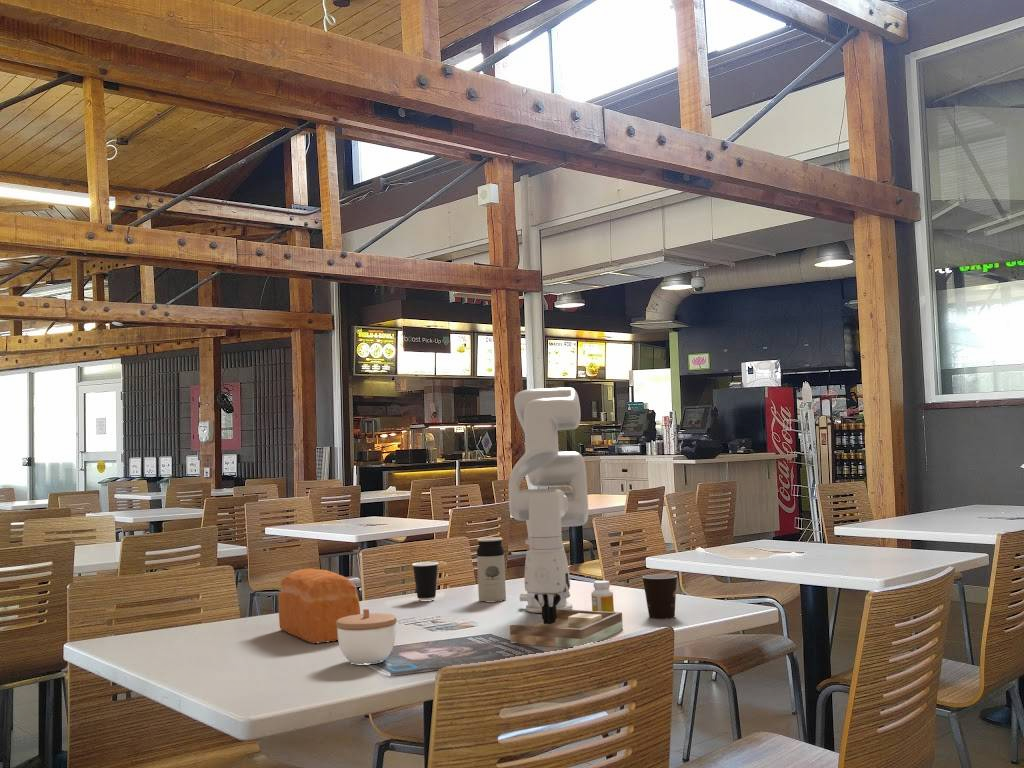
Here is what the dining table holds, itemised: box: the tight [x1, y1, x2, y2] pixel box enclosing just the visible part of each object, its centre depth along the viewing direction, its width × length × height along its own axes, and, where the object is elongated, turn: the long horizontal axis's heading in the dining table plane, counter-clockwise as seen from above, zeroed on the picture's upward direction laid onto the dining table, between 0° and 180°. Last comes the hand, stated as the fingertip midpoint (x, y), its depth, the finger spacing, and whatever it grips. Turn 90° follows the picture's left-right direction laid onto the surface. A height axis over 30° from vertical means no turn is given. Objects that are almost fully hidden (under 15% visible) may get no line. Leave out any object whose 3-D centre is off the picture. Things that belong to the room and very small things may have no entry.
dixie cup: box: [411, 561, 439, 601], centre depth 278 cm, size 8×8×11 cm
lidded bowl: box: [336, 608, 397, 664], centre depth 197 cm, size 13×13×11 cm
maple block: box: [568, 613, 602, 629], centre depth 212 cm, size 6×5×3 cm
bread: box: [277, 568, 361, 644], centre depth 232 cm, size 14×26×16 cm, turn 31°
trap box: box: [509, 609, 624, 649], centre depth 215 cm, size 18×22×4 cm
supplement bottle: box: [591, 580, 615, 612], centre depth 232 cm, size 5×5×10 cm
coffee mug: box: [642, 573, 678, 620], centre depth 236 cm, size 12×9×10 cm
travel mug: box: [476, 536, 507, 602], centre depth 273 cm, size 8×8×18 cm
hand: (549, 622), depth 217 cm, fingers closed
